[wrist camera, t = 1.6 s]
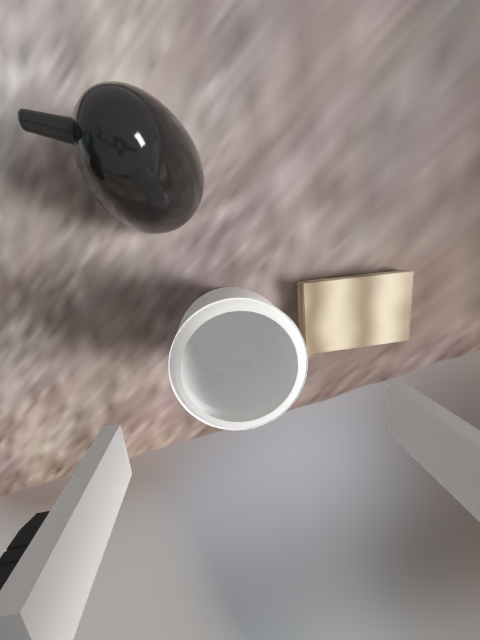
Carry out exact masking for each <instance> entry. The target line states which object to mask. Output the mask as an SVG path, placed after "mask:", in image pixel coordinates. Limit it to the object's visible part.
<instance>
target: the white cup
mask: <svg viewBox="0 0 480 640" xmlns="http://www.w3.org/2000/svg"><path fill="white" fill-rule="evenodd" d="M307 371H308V354H307V348H306V344H305V341H304V339H303V336H302V334H301V332H300V330H299V329H298V327H297V326H296V324H295V323H294V322H293V321H292V320H291V319H290V318H289V317H288V316H287V315H286V314H285V313H284V312H283V311H281V310H280V309H278V308H277V307H275V306H273V305H272V304H271V303H270V302H269V301H268V300H267V299H265V298H264V297H262V296H261V295H259V294H257V293H255V292H253V291H250V290H247V289H244V288H239V287H223V288H218V289H215V290H212V291H209V292H207V293H205V294H204V295H202V296H201V297H199V298H198V299H197V300H196V301H194V302H193V303H192V305H191V306H190V307H189V308H188V309H187V311H186V312H185V314H184V316H183V318H182V320H181V322H180V325H179V328H178V332H177V334H176V336H175V338H174V340H173V343H172V345H171V349H170V353H169V359H168V372H169V379H170V383H171V386H172V389H173V391H174V393H175V395H176V397H177V399H178V400H179V402H180V403H181V404H182V406H183V407H184V408H185V409H186V410H187V411H188V412H189V413H190V414H191V415H193V416H194V417H195V418H197V419H198V420H200V421H202V422H204V423H206V424H208V425H210V426H213V427H216V428H220V429H226V430H246V429H252V428H256V427H260V426H262V425H265V424H267V423H269V422H271V421H273V420H275V419H276V418H278V417H279V416H281V415H282V414H283V413H284V412H285V411H287V410H288V409H289V408H290V407H291V405H292V404H293V403H294V402H295V400H296V399H297V397H298V396H299V394H300V392H301V390H302V388H303V386H304V383H305V380H306V376H307Z"/></svg>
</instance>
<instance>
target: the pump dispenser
mask: <svg viewBox="0 0 480 640" xmlns="http://www.w3.org/2000/svg"><path fill="white" fill-rule="evenodd" d="M18 120H19V124H20V126H21V127H22V128H23V129H24V130H25V131H27V132H31V133H34V134H37V135H41V136H44V137H48V138H51V139H55V140H58V141H62V142H65V143H68V144H72V145H73V151H74V155H75V159H76V162H77V165H78V167H79V170H80V172H81V175H82V177H83V179H84V181H85V182H86V184H87V186H88V187H89V189H90V191H91V192H92V194H93V195H94V196H95V198H96V199H97V200H98V201H99V202H100V204H101V205H102V206H103V207H104V208H105V209H106V210H107V211H108V212H109V213H110V214H111V215H112V216H113V217H115V218H116V219H117V220H118V221H120V222H121V223H123V224H124V225H126V226H128V227H130V228H132V229H134V230H137V231H140V232H144V233H150V234H161V233H167V232H171V231H173V230H176V229H178V228H179V227H181V226H183V225H184V224H185V223H186V222H188V221H189V220H190V219H191V217H192V216H193V215H194V214H195V212H196V210H197V209H198V207H199V204H200V202H201V199H202V195H203V189H204V174H203V167H202V163H201V159H200V156H199V154H198V151H197V149H196V147H195V145H194V142H193V141H192V139H191V137H190V135H189V133H188V132H187V130H186V129H185V127H184V126H183V125H182V123H181V122H180V121H179V120H178V119H177V117H176V116H175V115H174V114H173V113H172V112H171V111H170V110H169V109H168V108H167V107H166V106H164V105H163V104H162V103H161V102H160V101H159V100H157V99H156V98H155V97H153V96H152V95H150V94H149V93H147V92H146V91H144V90H142V89H140V88H138V87H136V86H133V85H130V84H127V83H123V82H114V81H111V82H103V83H99V84H96V85H94V86H92V87H90V88H89V89H87V90H86V91H85V92H84V93H83V94H82V95H81V97H80V98H79V100H78V102H77V104H76V106H75V108H74V112H73V117H66V116H60V115H55V114H49V113H44V112H38V111H33V110H27V109H20V110H19V111H18Z"/></svg>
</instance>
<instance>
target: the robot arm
mask: <svg viewBox="0 0 480 640" xmlns="http://www.w3.org/2000/svg"><path fill="white" fill-rule="evenodd" d="M386 430H387V432H388V433H389V434H390V435H391V436H392V437H393V438H394V439H395V440H396V441H397V442H398V443H399V444H400V445H401V446H403V447H404V448H405V449H406V450H407V451H408V452H409V453H410V454H411V455H412V456H413V457H414V458H415V459H416V460H417V461H418V462H419V463H420V464H421V465H422V466H423V467H424V468H425V469H426V470H427V471H428V472H429V473H430V474H431V475H432V476H433V477H434V478H435V479H436V480H437V481H438V482H439V483H441V485H443V487H445V488H446V489H447V490H448V491H449V492H450V493H451V494H452V495H453V496H454V497H455V498H456V499H457V500H458V501H459V502H460V503H461V504H462V505H463V506H464V507H465V508H466V509H467V510H468V511H469V512H470V513H471V514H472V515H473V516H474V517H475V518H476V519H477V520H478V521H480V430H478V429H476V428H475V427H473V426H472V425H470V424H469V423H467V422H465V421H464V420H462V419H461V418H459V417H458V416H456V415H454V414H453V413H451V412H450V411H448V410H447V409H445V408H444V407H442V406H441V405H439V404H437V403H436V402H434V401H433V400H431V399H430V398H428V397H426V396H425V395H423V394H421V393H420V392H419V391H417V390H415V389H414V388H412V387H411V386H409V385H408V384H406V383H405V382H403V381H401V382H395V383H389V384H388V407H387V429H386ZM131 475H132V471H131V468H130V463H129V459H128V455H127V450H126V446H125V442H124V438H123V433H122V429H121V425H120V424H117V425H111V426H104V427H102V429H101V431H100V432H99V434H98V435H97V437H96V439H95V440H94V442H93V443H92V445H91V447H90V448H89V450H88V451H87V453H86V455H85V456H84V458H83V459H82V461H81V463H80V464H79V466H78V467H77V469H76V471H75V472H74V474H73V475H72V477H71V479H70V480H69V482H68V483H67V485H66V487H65V488H64V490H63V492H62V493H61V495H60V496H59V498H58V500H57V501H56V503H55V504H54V506H53V507H52V509H51V511H47V512H42V513H37V514H36V515H35V516H34V517H33V518H32V519H31V520H30V521H29V522H28V523H26V524H25V525H24V526H23V527H22V528H21V530H20V531H19V532H18V533H17V535H16V536H15V538H14V539H13V540H12V542H11V543H10V545H9V546H8V548H7V551H6V552H4V553H3V555H2V556H1V558H0V640H73V638H74V635H75V632H76V629H77V626H78V624H79V621H80V618H81V615H82V613H83V609H84V607H85V604H86V601H87V598H88V596H89V593H90V590H91V587H92V584H93V582H94V579H95V576H96V573H97V570H98V568H99V565H100V562H101V559H102V556H103V554H104V551H105V548H106V545H107V542H108V540H109V536H110V534H111V531H112V528H113V525H114V523H115V520H116V517H117V514H118V511H119V509H120V506H121V503H122V500H123V497H124V495H125V492H126V489H127V486H128V483H129V480H130V478H131Z"/></svg>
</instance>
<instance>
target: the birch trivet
mask: <svg viewBox="0 0 480 640" xmlns="http://www.w3.org/2000/svg"><path fill="white" fill-rule="evenodd" d="M412 286H413V271H404V270H396V271H387V272H379V273H370V274H361V275H352V276H343V277H334V278H325V279H316V280H307V281H298V282H297V294H298V317H299V330H300V332H301V334H302V336H303V339H304V341H305V344H306V348H307V354H314V353H321V352H328V351H335V350H343V349H350V348H357V347H364V346H371V345H378V344H386V343H393V342H400V341H407V340H409V333H410V317H411V301H412Z"/></svg>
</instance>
